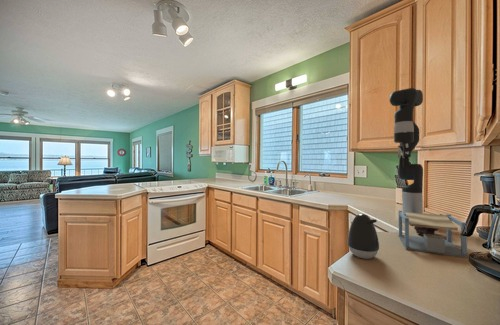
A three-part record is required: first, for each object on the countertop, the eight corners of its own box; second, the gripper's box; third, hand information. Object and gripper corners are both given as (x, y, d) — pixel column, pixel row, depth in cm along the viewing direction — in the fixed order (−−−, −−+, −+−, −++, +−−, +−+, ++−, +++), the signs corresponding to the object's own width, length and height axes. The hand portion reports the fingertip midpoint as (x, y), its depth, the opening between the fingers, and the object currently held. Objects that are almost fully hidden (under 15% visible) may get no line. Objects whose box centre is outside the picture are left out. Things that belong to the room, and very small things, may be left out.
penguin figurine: (366, 264, 71) (365, 218, 71) (341, 253, 80) (341, 212, 81) (386, 259, 75) (386, 215, 75) (360, 248, 84) (360, 210, 85)
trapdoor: (402, 218, 98) (402, 210, 97) (445, 222, 91) (445, 213, 90) (408, 232, 85) (409, 223, 85) (458, 238, 79) (459, 228, 78)
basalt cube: (423, 233, 84) (427, 237, 80) (440, 235, 82) (444, 239, 77) (423, 246, 84) (427, 251, 80) (440, 248, 82) (445, 253, 77)
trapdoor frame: (398, 236, 99) (398, 210, 99) (449, 242, 91) (449, 213, 91) (405, 249, 83) (405, 218, 84) (468, 258, 75) (467, 223, 75)
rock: (412, 236, 102) (440, 241, 95) (411, 219, 101) (439, 222, 94) (414, 227, 110) (440, 230, 104) (413, 211, 110) (439, 213, 103)
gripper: (391, 134, 108) (392, 166, 108) (396, 130, 96) (397, 167, 96) (410, 133, 105) (410, 166, 105) (417, 129, 92) (418, 166, 92)
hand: (404, 166), depth 100 cm, fingers open, 8 cm apart
